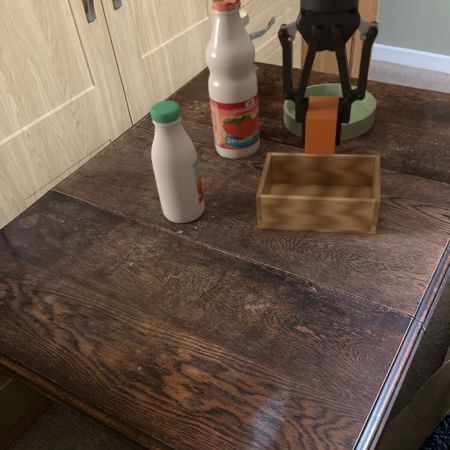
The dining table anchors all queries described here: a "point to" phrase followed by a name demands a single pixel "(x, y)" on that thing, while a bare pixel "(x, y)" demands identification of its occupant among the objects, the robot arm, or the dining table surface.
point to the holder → (320, 193)
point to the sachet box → (321, 125)
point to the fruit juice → (232, 83)
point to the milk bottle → (175, 165)
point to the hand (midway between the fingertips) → (321, 140)
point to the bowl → (357, 125)
